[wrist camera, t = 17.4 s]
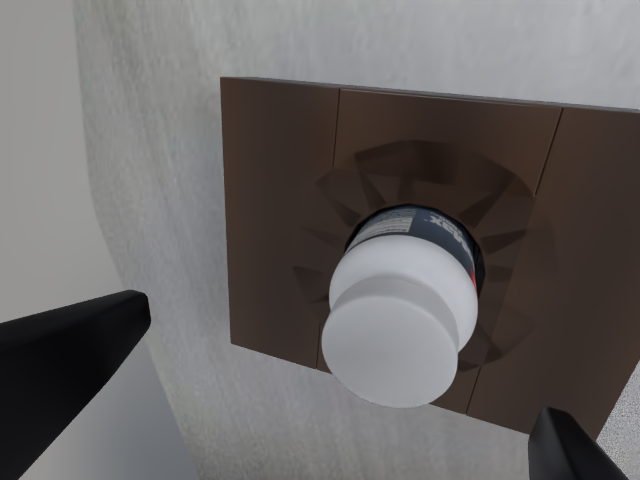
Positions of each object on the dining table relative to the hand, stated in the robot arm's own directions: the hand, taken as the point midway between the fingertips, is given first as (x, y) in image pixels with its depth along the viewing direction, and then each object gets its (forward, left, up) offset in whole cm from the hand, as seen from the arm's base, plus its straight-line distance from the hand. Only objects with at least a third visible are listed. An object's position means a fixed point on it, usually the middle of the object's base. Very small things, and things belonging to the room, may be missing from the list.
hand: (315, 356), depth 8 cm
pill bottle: (+1, -2, -12) cm, 12 cm away
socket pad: (+1, -2, -12) cm, 12 cm away
